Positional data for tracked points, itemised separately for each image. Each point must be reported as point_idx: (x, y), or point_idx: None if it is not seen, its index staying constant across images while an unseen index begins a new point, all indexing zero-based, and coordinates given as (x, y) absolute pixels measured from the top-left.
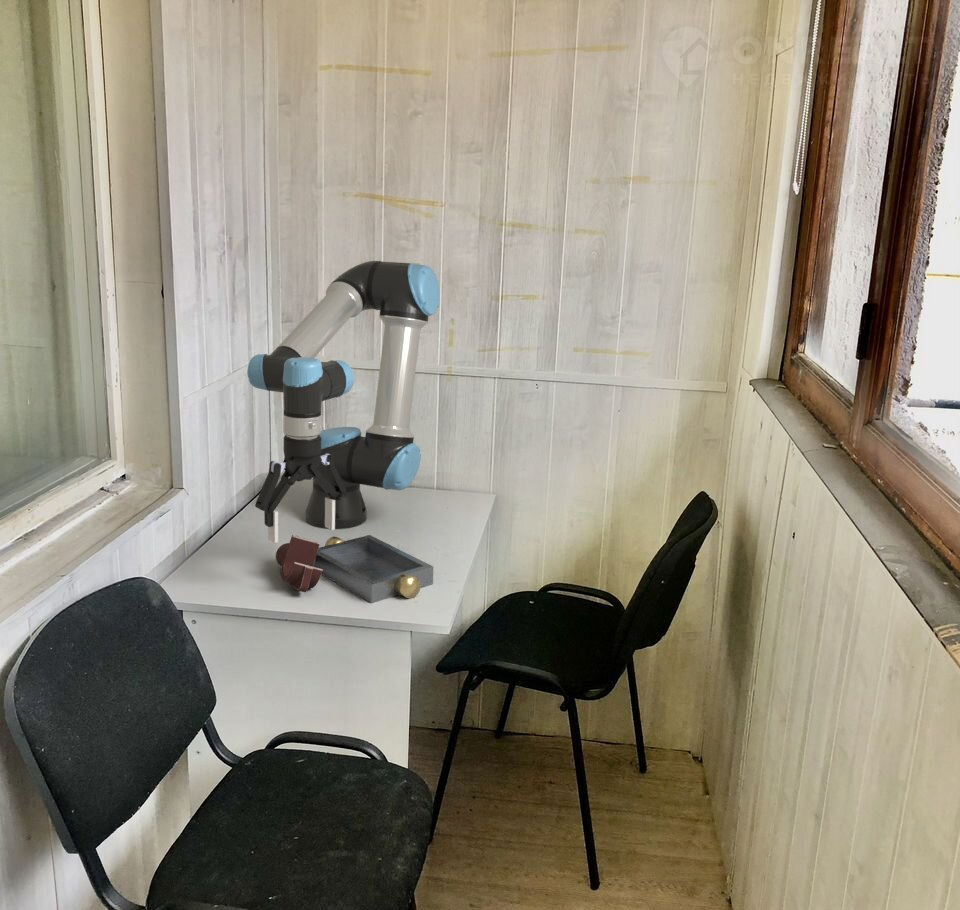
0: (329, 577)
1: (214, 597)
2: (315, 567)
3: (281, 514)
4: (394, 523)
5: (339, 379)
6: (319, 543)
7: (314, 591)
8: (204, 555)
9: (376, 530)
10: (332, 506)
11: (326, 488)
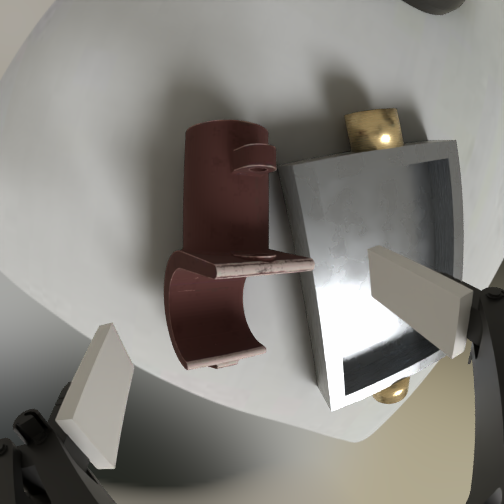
0: None
1: (26, 268)
2: (285, 195)
3: None
4: (484, 51)
5: None
6: (311, 270)
7: None
8: (59, 17)
9: (459, 54)
10: (434, 343)
11: (476, 418)
